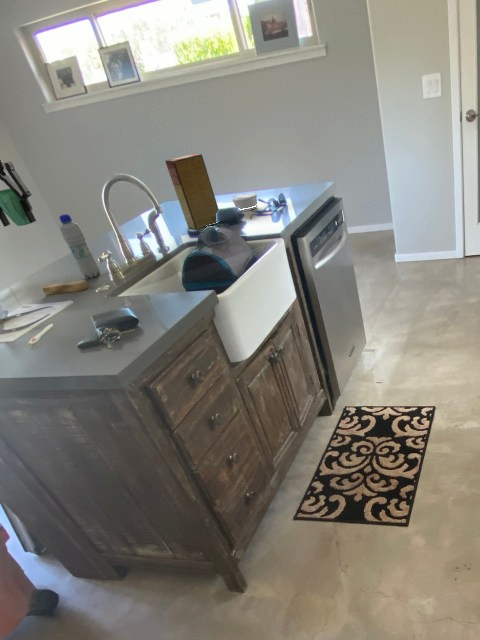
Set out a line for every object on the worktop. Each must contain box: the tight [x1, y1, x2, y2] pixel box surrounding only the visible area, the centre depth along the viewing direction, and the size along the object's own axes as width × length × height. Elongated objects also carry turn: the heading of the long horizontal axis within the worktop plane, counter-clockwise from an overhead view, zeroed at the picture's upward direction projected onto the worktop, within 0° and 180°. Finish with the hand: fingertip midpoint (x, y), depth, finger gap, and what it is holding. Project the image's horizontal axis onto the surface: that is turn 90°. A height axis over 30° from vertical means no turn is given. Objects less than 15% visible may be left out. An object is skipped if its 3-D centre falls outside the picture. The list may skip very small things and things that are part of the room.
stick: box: [42, 279, 89, 296], centre depth 175 cm, size 14×3×2 cm, turn 89°
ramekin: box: [231, 192, 258, 212], centre depth 238 cm, size 11×11×5 cm
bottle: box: [59, 213, 101, 279], centre depth 179 cm, size 7×7×20 cm
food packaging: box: [164, 153, 220, 231], centre depth 218 cm, size 13×9×25 cm
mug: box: [0, 188, 31, 227], centre depth 173 cm, size 15×10×10 cm
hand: (20, 223), depth 176 cm, fingers closed on mug, 9 cm apart
